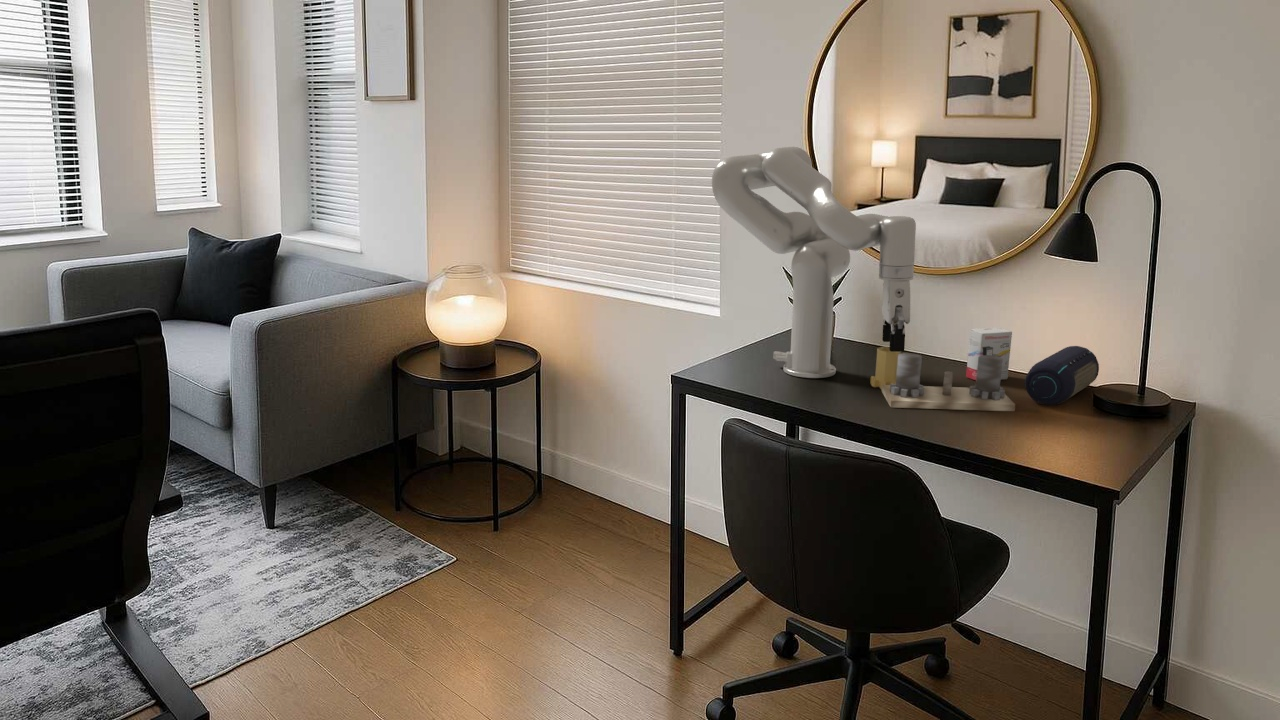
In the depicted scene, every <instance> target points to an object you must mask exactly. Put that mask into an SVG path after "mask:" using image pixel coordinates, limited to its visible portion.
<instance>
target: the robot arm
mask: <svg viewBox="0 0 1280 720" xmlns="http://www.w3.org/2000/svg"><path fill="white" fill-rule="evenodd" d="M711 187H712V194H713V196H714V198H715V201H716V203H717V205H718V206H720V208H721V209H722V211H724V212H725V213H726V214H727V215H728V216H729V217H731V219H733V220H734V221H735V222H736V223H738V224H739V225H741V226H742V227H743V228H744V229H746V230H747V231H748V232H749V233H750V234H751V235H752V236H754V237H755V238H756V239H757V240H758V241H759V242H761V243H762V244H763V245H765V247H766V248H768V249H769V250H770V251H772V252H774V253H776V254H779V255H780V254H781V255H786V254H789V253H794V254H793V257H792V260H791V278H792V287H793V288H792V295H793V296H792V316H791V334H790V335H791V336H790V350H789V351H786V352H782V351H777V350H776V351H775V350H774V351H773V354H772V355H773V356H772V358H773V359H774V360H775V361H776V362H784V363H785V364H783V372H784V373H785V374H788V375H790V376H794V377H799V378H804V379H805V378H806V379H823V378H829V377H833V376H835V374H836V373H837V368H836V366H834V365H833V364H831V351H832V335H833V333H832V332H833V320H834V319H833V317H834V297H835V296H834V289H833V281H832V278H834V277H837V276H839V275H841V274H843V273H844V272H845V271H846V270H847V269H848V267H849V265H850V263H851V254H850V251H852V252H853V251H855V252H856V251H861V250H864V249H868V248H872V247H878V246H879V268H878V279H879V280H883V281H882V282H883V283H882V297H881V298H882V299H881V300H882V301H881V302H882V304H881V311H882V312H881V313H882V317H883V324H882V338H881V339H882V342H883V343H889V346H888V347H889V350H890V351H891V352H901V353H904V352H905V342H906V339H905V338H906V329H905V325H908V324H910V323H911V282H910V281H912V280H914V275H915V274H914V272H915V270H914V269H915V252H916V251H915V250H916V235H917V234H916V233H917V231H916V230H917V223H916V222H917V221H916V220H915V218H913V217H911V216H903V215H900V216H899V215H896V216H895V215H893V216H892V215H891V216H888V215H883V214H876V213H865V214H859V215H856V214H854V213H853V212H851V210H849V209H848V208H846V207H845V206H844V205H842V204H841V203H840V202H839V201H838V200H837V199H836V198H835V196H834V195H833V192H832V182H831V180H830V179H829V178H828V177H826V176H825V175H824V174H822V173H821V172H820V171H818V170H816V169H815V168H814V167H813V163H812V159H811V156H810V155H809V154H808V152H807V151H806V150H804V149H803V148H801V147H799V146H786V147H785V146H784V147H783V146H782V147H777V148H774V149H772V150H770V151H767V152H762V153H756V154H745V155H734V156H729V157H727V158H724V159H722V160H721V161H720V162H718V163H717V165H716V166H715V167H714V170H713V172H712V177H711ZM771 187H776V188H777V189H779V190H780V191H782V193H785V194H786V195H787V196H788V197H790V198H791V199H792V200H793V201H795V202H796V203H797V204H799V206H801V207H802V208H803V209H805V211H807V213H808V214H807V213H804V212H801V211H791V212H784V211H782V210H780V209H779V208H777V207H776V206H775V205H773V204H772V203H771V202H770V201H768V200H767V199H766V198H764V197H763V196H762V195H760V194H757V193H755V192H754V191H752V190H758V189H765V188H771Z"/></svg>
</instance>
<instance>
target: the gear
mask: <svg viewBox="0 0 1280 720" xmlns="http://www.w3.org/2000/svg"><path fill="white" fill-rule="evenodd" d="M889 347H890V346H881V347H878V348H876V363H875V375H871V376H870V380H869V381H870V383H869V384H870V385H871V387H873V388H879V389H880V390H882V385H891V383H893V384H896V375H897V363H898V354H901V353H902V352H891V351H890V350H889Z"/></svg>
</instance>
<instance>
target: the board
mask: <svg viewBox="0 0 1280 720" xmlns="http://www.w3.org/2000/svg"><path fill="white" fill-rule="evenodd" d="M922 359H923V356H922V355H921V354H917V353H912V352H901V354H898V363H897V375H896V384H893V383H891V385H882V389H881V393H882V395H883V396H884V399H885V401H886V402H887V403H888V405H889V407H890V408H897V409H898V408H899V409H901V408H904V409H927V410H928V409H931V410H933V409H935V410H958V411H960V410H961V411H963V410H964V411H988V412H989V411H990V412H991V411H992V412H993V411H994V412H1015V410H1016V403H1014V402H1013V401H1012V399H1010V397H1009V396H1008V395H1006V390H1005V389H1004V387H1002V386H1001V381H1002V379H1001V372H1002V363H1003V359H1002V358H1001V357H997V356H991V355H982V356H979V357H978V367H977V377H976V380H975V383H974V385H970V386H969V387H967V386H966V387H965V386H964V387H959V386H958V387H957V386H952V385H953V378H954V377H953V376H954V372H953V371H944V373H943V383H942V386H929V385H928V386H927V385H923V384H920V382H921V370H922V361H923V360H922Z"/></svg>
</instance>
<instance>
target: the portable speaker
mask: <svg viewBox="0 0 1280 720" xmlns="http://www.w3.org/2000/svg"><path fill="white" fill-rule="evenodd" d="M1099 370H1100V364H1099V361H1098V359H1097V356H1096V355H1095V354H1094V352H1092V351H1091V350H1089V349H1088V348H1086V347H1083V346H1080V345H1071V346H1066V347H1064V348H1062V349H1061V350H1058V351H1056V352H1054V353H1053V354H1051V355H1050V356H1047V357H1045V358H1044V359H1042V360H1040V361H1038V362H1036V363H1034V365H1033V366H1031V368H1030V369H1029V371H1028V372H1027V373H1026V376H1025V377H1024V378H1025V379H1024V385H1025V391H1026V392H1027V394H1028V396H1029V397H1030V398H1031V399H1032V400H1033V401H1034V402H1036V403H1039V404H1041V405H1042V404H1043V405H1045V406H1055V405H1060V404H1062V403H1064V402H1066V401H1067V400H1068V399H1070V398H1072V397H1073V396H1075V395H1076V394H1077V393H1079V392H1080V391H1082V390H1084V389H1085V388H1087V387H1089V386H1090V385H1091V384H1092V383H1093V382H1095V380H1096V379H1097V377H1098V376H1099Z"/></svg>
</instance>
